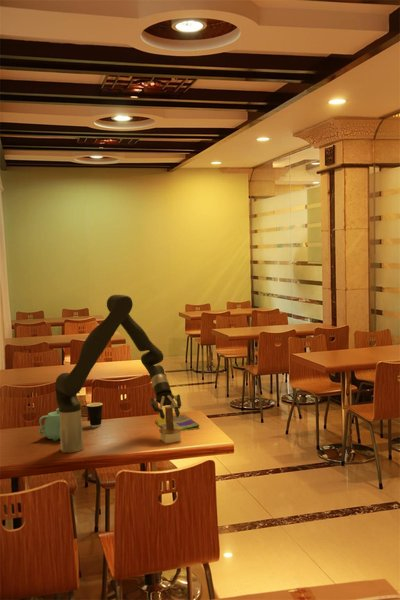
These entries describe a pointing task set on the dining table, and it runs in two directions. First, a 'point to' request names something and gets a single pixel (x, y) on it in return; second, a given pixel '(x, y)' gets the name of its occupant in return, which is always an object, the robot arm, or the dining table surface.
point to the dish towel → (179, 422)
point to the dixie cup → (95, 414)
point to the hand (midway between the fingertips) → (170, 416)
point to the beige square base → (171, 437)
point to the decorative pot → (51, 425)
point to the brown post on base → (169, 423)
